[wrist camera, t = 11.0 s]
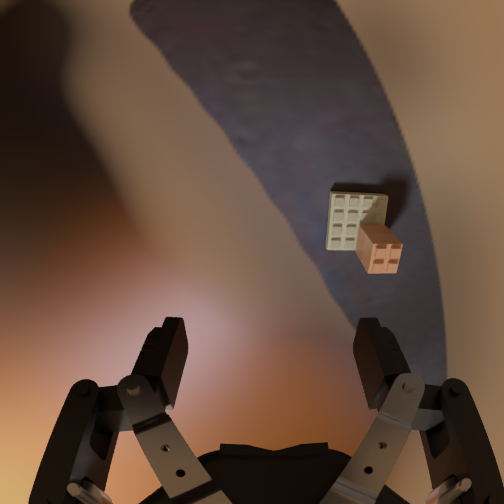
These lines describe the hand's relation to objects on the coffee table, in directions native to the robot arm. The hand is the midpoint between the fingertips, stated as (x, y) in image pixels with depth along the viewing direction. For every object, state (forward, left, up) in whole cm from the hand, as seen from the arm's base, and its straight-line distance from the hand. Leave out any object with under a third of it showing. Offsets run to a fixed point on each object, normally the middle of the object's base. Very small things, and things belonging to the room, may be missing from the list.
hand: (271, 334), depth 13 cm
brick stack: (+7, +14, -26) cm, 31 cm away
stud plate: (+5, +12, -28) cm, 31 cm away
